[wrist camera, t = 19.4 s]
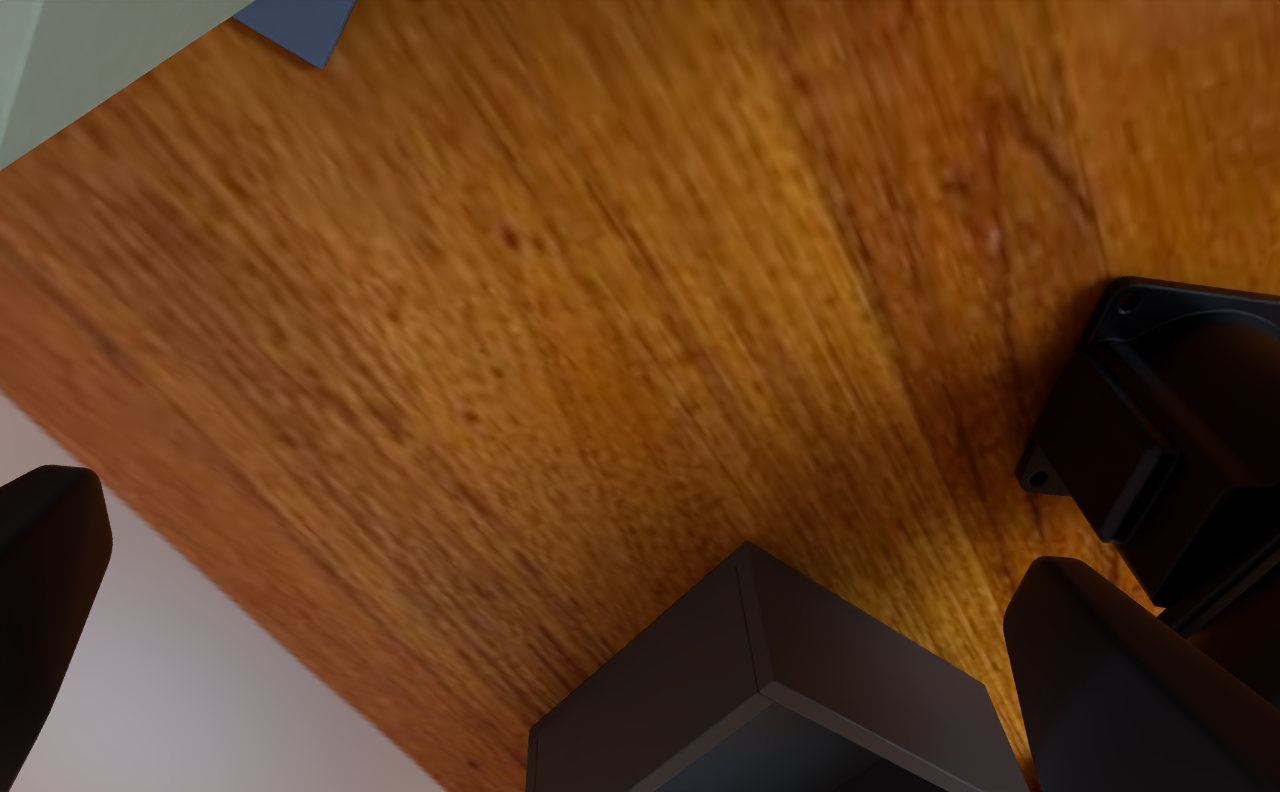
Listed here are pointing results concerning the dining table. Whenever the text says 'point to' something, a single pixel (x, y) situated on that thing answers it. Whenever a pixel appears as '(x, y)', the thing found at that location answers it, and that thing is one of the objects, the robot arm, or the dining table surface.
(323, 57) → the mat
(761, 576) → the charcoal basket
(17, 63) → the green basket
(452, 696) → the dining table surface
